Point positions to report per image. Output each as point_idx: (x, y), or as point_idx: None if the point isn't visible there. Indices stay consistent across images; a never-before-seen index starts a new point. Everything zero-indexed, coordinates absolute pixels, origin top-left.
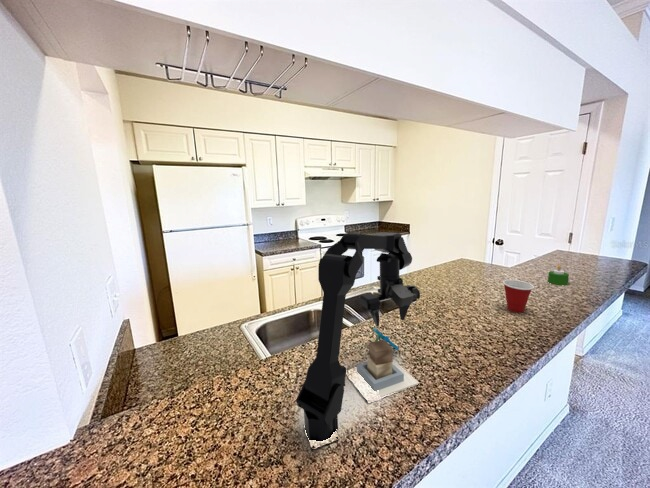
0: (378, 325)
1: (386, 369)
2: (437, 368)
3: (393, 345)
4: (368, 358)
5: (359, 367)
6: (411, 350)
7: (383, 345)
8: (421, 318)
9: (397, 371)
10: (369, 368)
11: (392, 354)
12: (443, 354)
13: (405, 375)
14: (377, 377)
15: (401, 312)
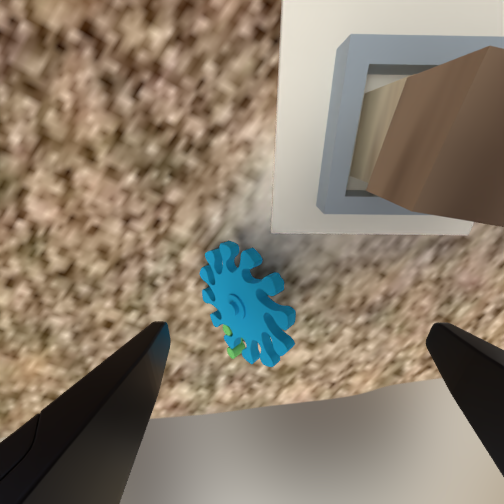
0: (455, 329)
1: None
2: (124, 71)
3: (247, 249)
4: None
5: None
6: (158, 233)
7: (496, 139)
8: (12, 371)
9: (361, 73)
10: None
11: (447, 62)
12: (40, 149)
13: (300, 83)
14: None
15: (137, 408)
